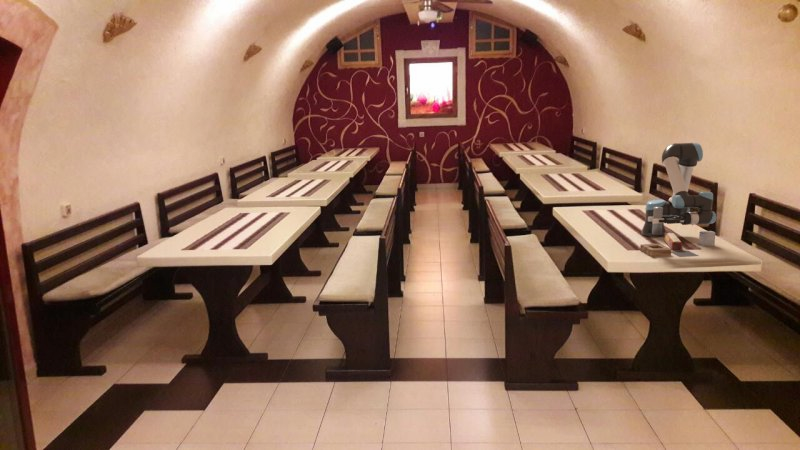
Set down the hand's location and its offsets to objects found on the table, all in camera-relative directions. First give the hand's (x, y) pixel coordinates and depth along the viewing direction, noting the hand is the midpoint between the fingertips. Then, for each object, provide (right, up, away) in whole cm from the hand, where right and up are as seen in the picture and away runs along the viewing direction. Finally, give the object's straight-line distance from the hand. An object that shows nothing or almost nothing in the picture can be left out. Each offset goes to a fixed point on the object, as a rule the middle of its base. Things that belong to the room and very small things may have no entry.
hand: (650, 220), depth 343 cm
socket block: (+5, -20, +5) cm, 21 cm away
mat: (+20, -20, +1) cm, 29 cm away
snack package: (+22, -17, +18) cm, 33 cm away
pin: (+4, -8, +2) cm, 10 cm away
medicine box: (+43, -16, +19) cm, 50 cm away
